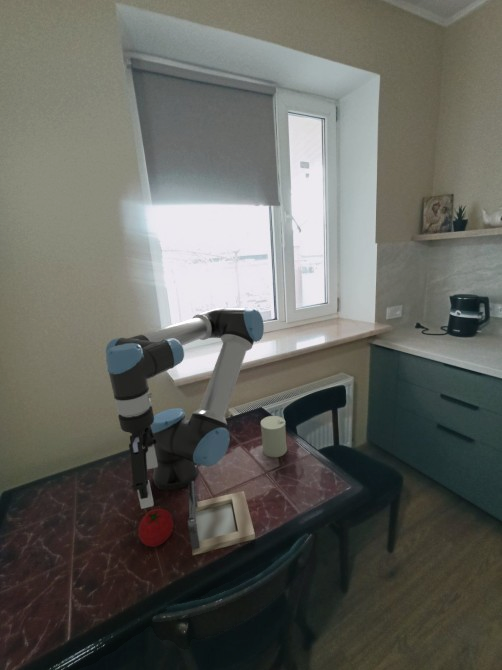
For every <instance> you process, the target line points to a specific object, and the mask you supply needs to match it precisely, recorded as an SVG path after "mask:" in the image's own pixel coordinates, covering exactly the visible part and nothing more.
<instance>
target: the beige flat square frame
mask: <svg viewBox="0 0 502 670" xmlns="http://www.w3.org/2000/svg"><path fill="white" fill-rule="evenodd" d="M197 503H198V507H195V515H196V524H197V530H198V536H199V545H200V548H198V549H194V550H192V549H191V553H192V556H195V555H196V556H197V555H200V554H203V553H207V552H211V551H215V550H218V549H222V548H226V547H230V546H234V545H236V544H237V545H238V544H240V543H245V542H248V541H251V540H255V539H256V533H255V529H254V526H253V525H254V524H253V522H252V517H251V514H250V511H249V506H248V501H247V498H246V494H245V490H244V491H243V490H242V491H238V492H234V493H230V494H225V495H221V496H217V497H216V496H215V497H211V498H208V499H203V500H199V501H198V500H197Z"/></svg>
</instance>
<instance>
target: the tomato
mask: <svg viewBox="0 0 502 670" xmlns="http://www.w3.org/2000/svg"><path fill="white" fill-rule="evenodd" d="M173 528H174V519H173V516H172V515H171V513H170V512H169V511H168V510H166V509H164V508H153V509H152V510H149V511H148V512H147V513H146V514H144V516H143V517H142V519H141V520H140V523H139V525H138V531H137V533H138V537H139V539H140V541H141V543H142V544H144V545H145V546H148V547H153V548H154V547H159V546H160V545H162V544H164V543H165V542H166V541H167V540H168V539H169V537H170V536H171V535H172V532H173Z"/></svg>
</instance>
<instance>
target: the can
mask: <svg viewBox="0 0 502 670" xmlns="http://www.w3.org/2000/svg"><path fill="white" fill-rule="evenodd" d="M260 428H261V429H260V431H261V442H262V453H263V454H264V455H265V456H267V457H269V458H279V457H282V456H284V455H285V454H286V453H287V451H288V445H287V432H286V420H285V419H284V418H283V417H281V416H279V415H268V416H266V417H264V418H262V419H261V421H260Z"/></svg>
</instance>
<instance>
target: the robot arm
mask: <svg viewBox="0 0 502 670" xmlns="http://www.w3.org/2000/svg"><path fill="white" fill-rule="evenodd" d="M264 328H265V327H264V320H263V317H262V314H261V313H260V311H259V310H258V309H256V308H248V307H245V308H244V307H243V308H237V307H235V308H234V307H233V308H232V307H220V308H214V309H211V310H208V311H205V312H201V313H198V314H195V315H194V316H193V317H192V318H190V319H188V320H185V321H181V322H179V323H175V324H171V325H168V326H165V327H162V328H158V329H155V330H152V331H148V332H145V333H142V334H138V335H134V336H131V337H127V338H126V337H115V338H113V339H111V340H110V341H109V342H108V344H107V345H106V348H105V358H106V360H105V361H106V366H107V373H108V376H109V378H110V384H111V389H112V393H113V398H114V403H115V404H114V405H115V407H116V412H117V414H118V420H119V425H120V429H121V430H122V431H123V432H125V433H128V434H129V433H130V434H131V435H130V436H129V444H128V448H129V453H130V461H131V463H130V464H131V474H132V484H131V489H133V491H137V496H138V500H139V505H140V509H141V510H142V509H146V508H150V507H153V506H154V504H155V503H154V498H153V494H152V488H151V483H150V480H149V479H148V470H151V469H153V472H152V480H153V484H154V485H155V487H156V488H158V489H159V490H162V491H165V492H169V491H176V490H180V489H182V488H185V487H187V486H189V482H190V481H194V480H195V479H196V478H197V476H198V473H199V465H201V466H203V467H204V466H205V467H212V466H215V465H217V464H218V462H220V461H221V460H222V459H223V458H224V456H225V454H226V453H227V451H228V448H229V445H230V440H231V439H230V437H231V436H230V432H229V430H227V426H228V423H227V420H226V413H227V411H228V409H229V405H230V401H231V399H232V396H233V393H234V390H235V386H236V383H237V381H238V378H239V374H240V372H241V368H242V365H243V362H244V359H245V356H246V353H247V352H248V351H251V349H252V348H253V346H254V343H255V342H256V343H257V342H259V341H261V340H262V339H263V336H264V332H265V331H264V330H265V329H264ZM208 339H220V340H221V342H222V346H221V348H220V351H219V354H218V357H217V359H216V361H215V364H214V367H213V370H212V373H211V375H210V378H209V381H208V384H207V387H206V390H205V392H204V395H203V397H202V401H201V403H200V406H199V407H198V409H197V410H194V411H192V414H191V416H190V418H187V417H186V412H185V411H184V409H182V408H179V407H176V408H169V409H165V410H162V411H161V412H159V413H156V414H155V415H154V410H153V406H152V402H151V400H152V399H151V398H153V396H154V395H153V393H150V390H149V389H150V388H149V382H148V381H149V379H152V378H154V377H156V376H157V375H159V374H162V373H164V372H166V371H168V370H171V369H174V368H175V367H176V366H178V365H179V364H181V363H182V362H183V360H184V358H185V351H184V346H185V345H187V344H190V343H193V342H195V341H197V340H201V341H205V340H208Z"/></svg>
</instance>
